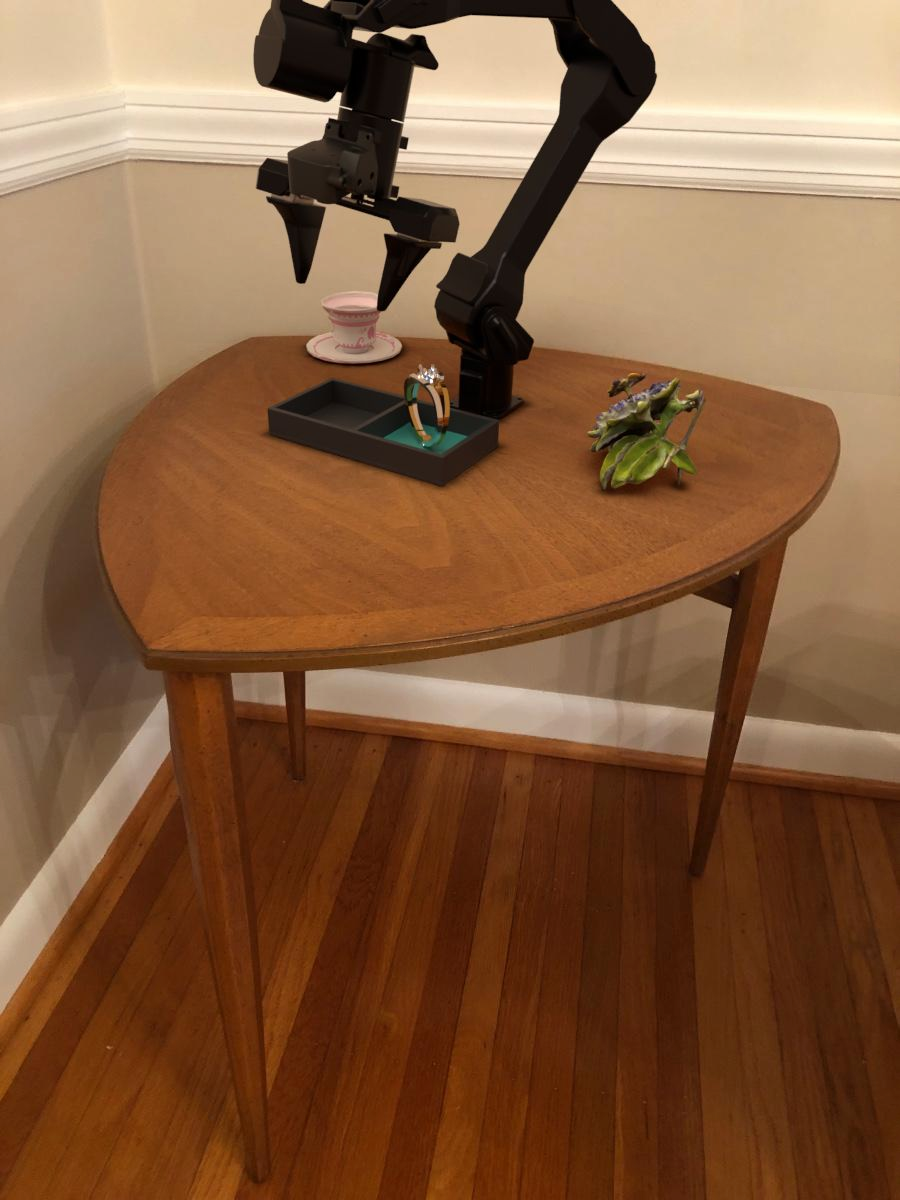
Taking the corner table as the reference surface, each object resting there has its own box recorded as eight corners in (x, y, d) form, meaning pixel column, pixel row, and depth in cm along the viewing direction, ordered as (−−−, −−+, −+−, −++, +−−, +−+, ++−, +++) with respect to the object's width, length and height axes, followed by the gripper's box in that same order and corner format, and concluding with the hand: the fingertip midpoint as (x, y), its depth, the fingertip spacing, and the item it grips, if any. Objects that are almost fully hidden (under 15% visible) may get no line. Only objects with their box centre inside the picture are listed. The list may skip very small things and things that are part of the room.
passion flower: (610, 506, 96) (642, 394, 96) (708, 523, 89) (743, 402, 89) (552, 475, 87) (588, 351, 88) (656, 491, 81) (695, 357, 81)
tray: (333, 402, 104) (332, 377, 102) (498, 446, 95) (499, 419, 93) (269, 434, 96) (266, 408, 94) (442, 486, 87) (442, 457, 86)
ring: (455, 456, 91) (457, 377, 87) (424, 462, 90) (425, 381, 86) (426, 430, 96) (427, 353, 92) (397, 434, 95) (397, 357, 91)
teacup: (363, 372, 112) (361, 320, 108) (286, 352, 117) (282, 302, 114) (420, 346, 120) (421, 297, 117) (346, 328, 125) (344, 281, 122)
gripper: (227, 77, 78) (205, 270, 85) (417, 127, 72) (377, 331, 79) (305, 97, 87) (280, 269, 94) (480, 143, 81) (440, 324, 88)
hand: (340, 296), depth 89 cm, fingers open, 9 cm apart
